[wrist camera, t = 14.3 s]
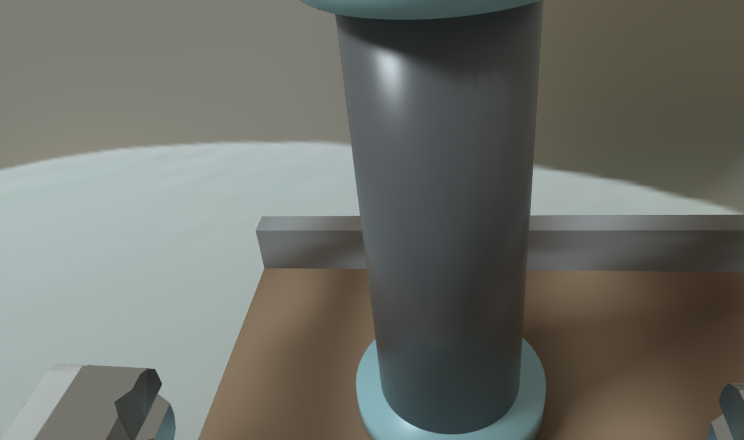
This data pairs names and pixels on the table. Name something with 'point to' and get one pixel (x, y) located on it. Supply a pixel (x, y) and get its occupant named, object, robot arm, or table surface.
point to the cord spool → (444, 211)
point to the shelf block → (540, 328)
